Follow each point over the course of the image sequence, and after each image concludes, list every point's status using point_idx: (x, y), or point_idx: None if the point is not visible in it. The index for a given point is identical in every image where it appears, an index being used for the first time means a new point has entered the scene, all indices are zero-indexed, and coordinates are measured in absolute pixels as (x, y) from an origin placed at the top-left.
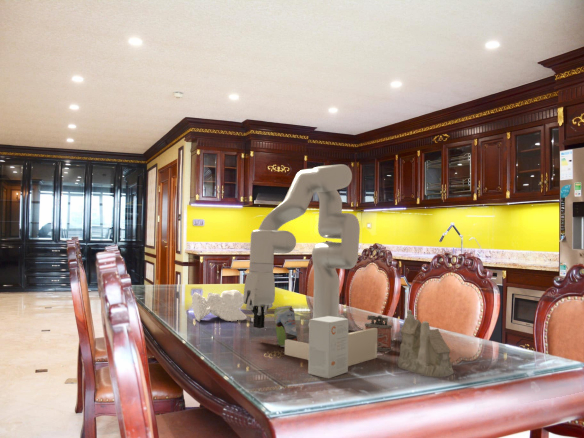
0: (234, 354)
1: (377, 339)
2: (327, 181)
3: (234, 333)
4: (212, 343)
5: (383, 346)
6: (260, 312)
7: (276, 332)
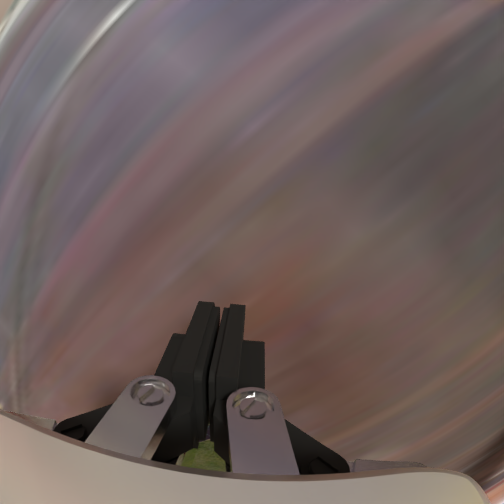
0: (10, 358)
1: None
2: None
3: (314, 6)
4: (15, 160)
5: None
6: (173, 462)
7: (186, 463)
